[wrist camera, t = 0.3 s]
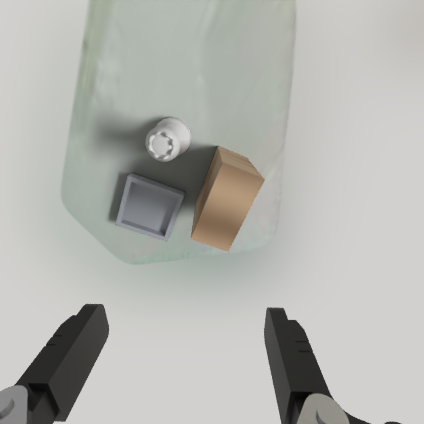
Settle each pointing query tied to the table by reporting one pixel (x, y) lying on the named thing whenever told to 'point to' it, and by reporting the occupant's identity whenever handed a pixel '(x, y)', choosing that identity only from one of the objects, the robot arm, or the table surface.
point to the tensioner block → (225, 199)
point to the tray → (149, 207)
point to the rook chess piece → (168, 139)
